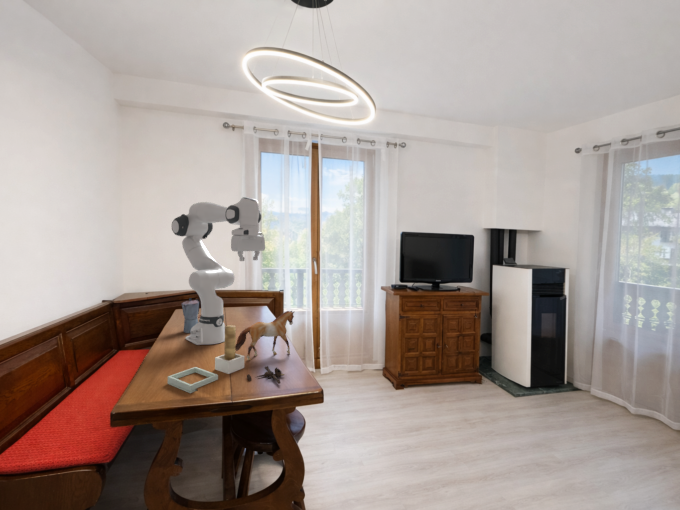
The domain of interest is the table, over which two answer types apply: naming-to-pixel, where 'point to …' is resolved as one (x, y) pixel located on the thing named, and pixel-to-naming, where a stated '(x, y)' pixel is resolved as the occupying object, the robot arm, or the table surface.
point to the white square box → (229, 364)
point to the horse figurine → (266, 332)
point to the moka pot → (190, 314)
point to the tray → (191, 388)
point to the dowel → (230, 342)
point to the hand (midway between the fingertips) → (248, 260)
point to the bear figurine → (269, 375)
